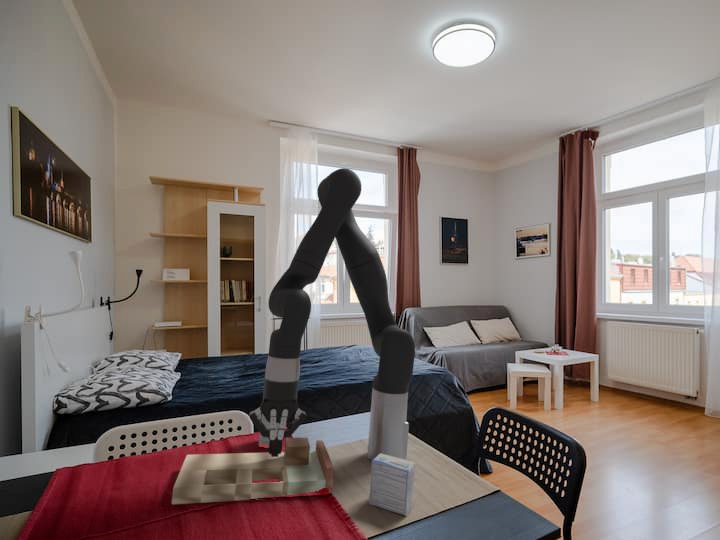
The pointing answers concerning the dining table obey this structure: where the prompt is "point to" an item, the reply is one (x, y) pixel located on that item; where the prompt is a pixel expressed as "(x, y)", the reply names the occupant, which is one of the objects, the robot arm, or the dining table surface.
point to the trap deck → (250, 476)
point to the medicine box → (392, 484)
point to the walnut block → (296, 451)
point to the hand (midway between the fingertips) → (274, 455)
